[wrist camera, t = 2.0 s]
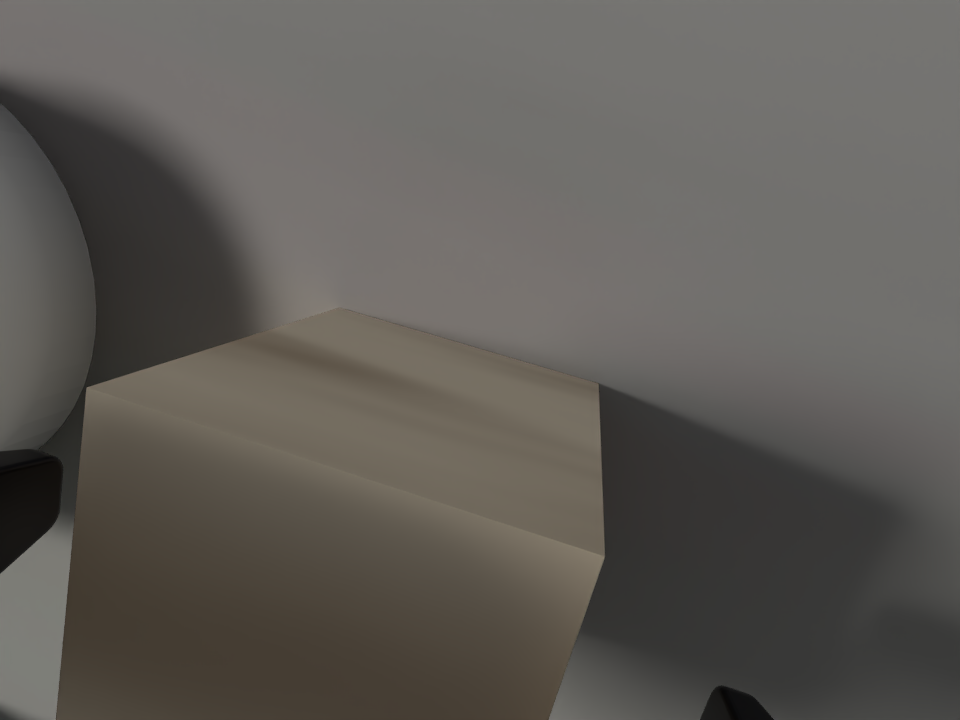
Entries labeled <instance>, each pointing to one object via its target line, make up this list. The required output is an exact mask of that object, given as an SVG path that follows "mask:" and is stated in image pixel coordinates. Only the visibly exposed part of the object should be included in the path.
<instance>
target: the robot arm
mask: <svg viewBox="0 0 960 720" xmlns="http://www.w3.org/2000/svg"><path fill="white" fill-rule="evenodd" d="M62 479H63V465H62V462H61V461H60V460H59V459H58V458H57V457H55V456H52V455H49V454H46V453H43V452H40V451H37V450H34V449H20V450H8V451H0V573H2V572H3V571H4V570H5V569H6V568H7V567H8V566H9V565H10V564H12V563H13V562H14V561H15V560H16V559H17V558H18V557H19V556H21V555H22V554H23V553H24V552H25V551H26V550H27V549H28V548H29V547H31V546H32V545H33V544H34V543H35V542H36V541H37V540H38V539H39V538H41V537H42V536H43V535H44V534H45V533H46V532H47V531H48V530H49V529H50V528H51V527H52V526H53V524H54V523H55V521H56V520H57V518H58V515H59V512H60V503H61V491H62ZM700 720H774V719H773V718H772V717H771V716H770V714H769V713H768V712H767V711H766V710H765V709H764V708H763V707H762V705H761V704H760V703H759V702H758V701H757V700H756V699H755V698H754V697H753V696H751V695H749V694H746V693H743V692H740V691H737V690H735V689H732V688H729V687H726V686H722V685H721V686H718V687H716V688H715V689H714V690H713V692H712V693H711V695H710V697H709V700H708V702H707V704H706V707H705V709H704V712H703V714H702V716H701V719H700Z"/></svg>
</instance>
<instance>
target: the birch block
mask: <svg viewBox="0 0 960 720" xmlns="http://www.w3.org/2000/svg"><path fill="white" fill-rule="evenodd" d="M604 558H605V542H604V515H603V488H602V461H601V434H600V407H599V384H598V383H595V382H592V381H588V380H585V379H581V378H578V377H575V376H571V375H568V374H564V373H561V372H557V371H554V370H551V369H547V368H544V367H540V366H537V365H534V364H530V363H527V362H523V361H520V360H517V359H513V358H510V357H506V356H503V355H499V354H496V353H493V352H489V351H486V350H482V349H479V348H476V347H472V346H469V345H465V344H462V343H458V342H455V341H452V340H448V339H445V338H441V337H438V336H435V335H431V334H428V333H424V332H421V331H417V330H414V329H411V328H407V327H404V326H400V325H397V324H394V323H390V322H387V321H383V320H380V319H376V318H373V317H370V316H366V315H363V314H359V313H356V312H353V311H349V310H346V309H342V308H336V309H333V310H330V311H327V312H324V313H321V314H317V315H314V316H311V317H308V318H305V319H302V320H298V321H295V322H292V323H289V324H286V325H283V326H279V327H276V328H273V329H270V330H267V331H264V332H260V333H257V334H254V335H251V336H248V337H245V338H241V339H238V340H235V341H232V342H229V343H226V344H222V345H219V346H216V347H213V348H210V349H207V350H203V351H200V352H197V353H194V354H191V355H188V356H185V357H181V358H178V359H175V360H172V361H169V362H166V363H162V364H159V365H156V366H153V367H150V368H147V369H143V370H140V371H137V372H134V373H131V374H128V375H124V376H121V377H118V378H115V379H112V380H109V381H105V382H102V383H99V384H96V385H93V386H90V387H87V389H86V399H85V410H84V421H83V432H82V443H81V453H80V464H79V475H78V486H77V497H76V508H75V518H74V529H73V540H72V551H71V562H70V572H69V583H68V594H67V605H66V616H65V626H64V637H63V648H62V659H61V670H60V681H59V691H58V702H57V713H56V720H548V719H549V716H550V713H551V711H552V708H553V705H554V702H555V699H556V696H557V693H558V690H559V688H560V685H561V682H562V679H563V676H564V673H565V670H566V667H567V665H568V662H569V659H570V656H571V653H572V650H573V647H574V644H575V642H576V639H577V636H578V633H579V630H580V627H581V624H582V621H583V619H584V616H585V613H586V610H587V607H588V604H589V601H590V598H591V596H592V593H593V590H594V587H595V584H596V581H597V578H598V575H599V572H600V570H601V567H602V564H603V561H604Z"/></svg>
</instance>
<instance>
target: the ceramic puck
mask: <svg viewBox="0 0 960 720" xmlns="http://www.w3.org/2000/svg"><path fill="white" fill-rule="evenodd" d="M95 334H96V298H95V286H94V276H93V271H92V267H91V262H90V257H89V252H88V247H87V244H86V241H85V238H84V234H83V231H82V228H81V225H80V222H79V219H78V216H77V214H76V212H75V209H74V207H73V205H72V203H71V200H70V198H69V196H68V193H67V191H66V189H65V187H64V185H63V184H62V182H61V180H60V178H59V177H58V175H57V173H56V171H55V169H54V168H53V166H52V164H51V162H50V161H49V159H48V158H47V157H46V155H45V154H44V152H43V151H42V150H41V148H40V147H39V145H38V144H37V143H36V141H35V140H34V138H33V137H32V136H31V135H30V133H29V132H28V131H27V130H26V129H25V128H24V127H23V126H22V124H21V123H20V122H19V121H18V120H17V119H16V118H15V117H14V116H13V114H12V113H11V112H10V111H9V110H7V109H6V108H5V107H4V106H3V105H2V104H1V103H0V451H8V450H20V449H34V450H37V449H38V448H40V447H41V446H42V445H44V444H45V443H46V442H47V441H48V440H49V439H50V438H51V437H52V436H53V435H54V434H55V433H56V432H57V430H58V429H59V428H60V427H61V426H62V425H63V423H64V422H65V420H66V419H67V417H68V416H69V414H70V413H71V411H72V410H73V408H74V406H75V404H76V402H77V400H78V398H79V396H80V393H81V391H82V389H83V387H84V384H85V381H86V378H87V374H88V371H89V367H90V364H91V360H92V354H93V347H94V341H95Z"/></svg>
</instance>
